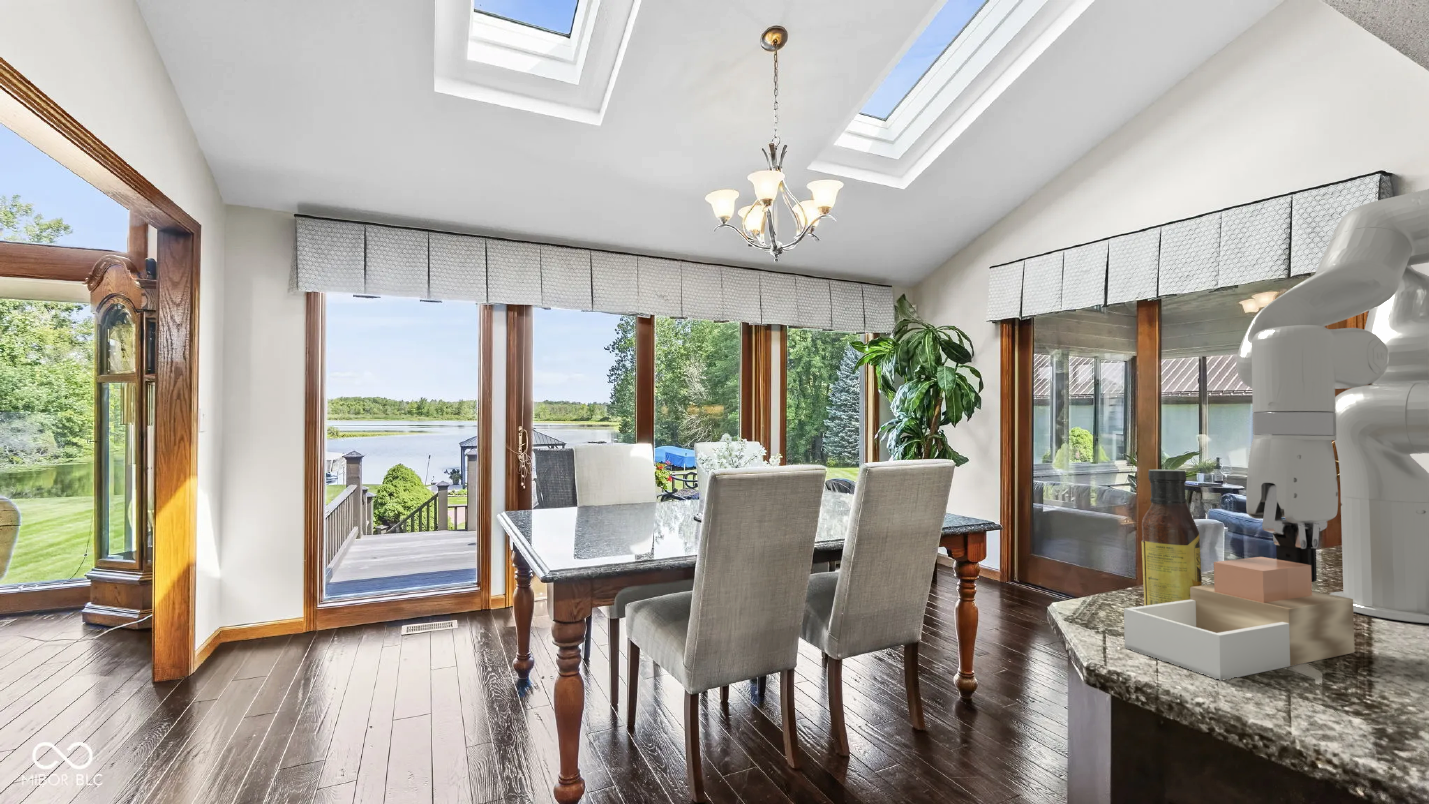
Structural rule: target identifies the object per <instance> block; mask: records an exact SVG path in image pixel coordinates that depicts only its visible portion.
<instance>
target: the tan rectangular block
mask: <svg viewBox="0 0 1429 804" xmlns="http://www.w3.org/2000/svg"><path fill="white" fill-rule="evenodd" d="M1190 599H1191V600H1195V601H1196V627H1197V628H1201V629H1204V630H1208V631H1211V632H1215V633H1220V632H1226V631H1232V630H1237V629H1243V628H1249V627H1255V626H1261V625H1267V624H1273V623H1279V622H1285V623H1289V639H1290V666H1289V667H1292V666H1298V665H1302V664H1306V663H1311V662H1317V661H1322V660H1325V659H1331V658H1334V657H1340V656H1344V655H1348V654H1354V653H1355V649H1356V648H1355V624H1354V623H1355V621H1354V612H1353V599H1350V598H1345V597H1340V596H1335V595H1330V593H1324V592H1320V591H1319V592H1318V591H1314V590H1312V596H1306V597H1299V598H1292V599H1286V600H1279V601H1273V602H1266V603H1262V602H1258V601H1253V600H1249V599H1244V598H1240V597H1235V596H1231V595H1227V594H1222V593H1218V592H1214V583H1211V584H1205V585H1204V584H1202V586H1194V587H1190Z"/></svg>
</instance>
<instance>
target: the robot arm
mask: <svg viewBox="0 0 1429 804" xmlns="http://www.w3.org/2000/svg"><path fill="white" fill-rule="evenodd" d="M1428 263H1429V188H1428V189H1423V190H1419V191H1414V192H1409V193H1405V194H1404V193H1403V194H1401V195H1395V196H1391V197H1388V198H1383V199H1379V200H1375V201H1374V200H1373V201H1370V202H1368V203H1364V204H1362V205H1359V206H1358V207H1355V208H1353V209H1351V210H1350V211H1349V212H1347V213H1346V214H1345V215H1344V216H1343V217H1342V218H1341V219H1340V220H1339V222H1338V223H1337V225H1336V227H1335V230H1334V232H1333V234H1332V236H1331V239H1330V240H1329V243H1328V245H1327V247H1326V249H1325V252H1324V253H1323V256H1322V258H1321V259H1320V262H1319V264H1318V267H1317V268H1316V270H1315V271H1316V272H1315V274H1314V275H1312V276H1310V277H1308V278H1306V279H1305V280H1303V281H1301V282H1299V283H1298V284H1295V285H1294V286H1293V287H1292V288H1289V289H1288V290H1286V292H1284V293H1282V294H1281V295H1279V296H1278V297H1276V298H1275V299H1273V300H1271V302H1269V303H1267V304H1266V305H1265V306H1264V307H1262V309H1260V310H1259V311H1258V313H1256V315H1255V316H1254V318H1253V319H1252V320H1251V322H1250V324H1249V325H1248V328H1247V330H1246V332H1245V334H1244V336H1243V338H1242V341H1241V342H1240V345H1239V349H1238V351H1237V354H1236V362H1235V363H1236V372H1237V375H1238V378H1239V379H1240V380H1241V382H1242V383H1243V384H1244V385H1246V386H1247V387H1249V388H1250V389H1252V390H1251V391H1252V393H1251V394H1252V434H1253V435H1252V442H1251V446H1250V449H1249V455H1248V464H1247V475H1246V476H1247V477H1246V491H1245V492H1246V494H1245V495H1246V498H1245V499H1246V501H1245V503H1246V505H1245V507H1246V514H1247V515H1248V516H1249V517H1250V518H1252V519H1257V520H1262V524H1261V528H1262V530H1263V531H1265V532H1268V533H1271V534H1272V541H1273V544H1274V545H1275V549H1276V550H1275V551H1276V553H1275V555H1276V558H1275V559H1278V560H1284V561H1290V562H1295V563H1301V564H1307V565H1311V578H1312V583H1314V582H1315V583H1316V581H1317V578H1318V576H1317V548H1318V546H1319V537H1320V532H1322V531H1323V530H1325V529H1327V527H1328V521H1331V520H1333V519H1334V518H1336V516H1337V514H1338V510H1339V509H1338V508H1339V489H1338V488H1339V486H1338V476H1337V475H1338V474H1337V468H1336V467H1337V466H1336V458H1335V452H1334V447H1333V443H1332V441H1334V444H1335V448H1336V452H1337V453H1336V454H1337V459H1338V467H1339V482H1340V515H1341V517H1340V519H1341V521H1340V522H1341V523H1340V524H1341V554H1342V555H1341V556H1342V559H1341V560H1342V583H1343V584H1342V585H1343V586H1342V588H1343V589H1342V590H1343V591H1334V592H1330V593H1329V594H1330V595H1335V596H1340V597H1345V598H1350V599H1353V613H1358V614H1362V615H1367V616H1370V617H1375V618H1376V617H1377V618H1381V619H1388V620H1393V621H1400V622H1401V621H1402V622H1410V623H1417V624H1418V623H1419V624H1427V625H1428V624H1429V472H1428V471H1427V470H1426V469H1425V468H1424V467H1423V466H1422V465H1421V464H1419V462H1417V461H1416V460H1415V459H1414V458H1413V456H1411V455H1412V454H1415V455H1416V454H1417V455H1418V454H1429V275H1428V274H1425V273H1422V272H1421V271H1419V270H1418V271H1417V270H1415V269H1414V267H1413V266H1416V265H1421V264H1428ZM1366 312H1368V313H1367V318H1366V322H1365V325H1364V326H1365V327H1364V329H1363V328H1358V327H1345V328H1344V327H1343V328H1335V329H1333V328H1332V329H1331V328H1330V329H1329V328H1327V326H1329V325H1333V324H1336V323H1338V322H1342V321H1345V320H1348V319H1351V318H1353V317H1356V316H1359V315H1361V314H1364V313H1366ZM1336 389H1339V390H1341V389H1345V390H1344V391H1342V392H1340V393H1338V394H1337V395H1336Z"/></svg>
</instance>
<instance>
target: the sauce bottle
mask: <svg viewBox="0 0 1429 804" xmlns="http://www.w3.org/2000/svg"><path fill="white" fill-rule="evenodd" d="M1186 472H1187V471H1185V470H1184V469H1161V468H1160V469H1148V480H1149V482H1150V499H1149V500H1150V503H1151V504H1150V506H1149V508H1148V509H1147V511H1146V512H1145V514H1144V515H1143V517H1142V520H1141V533H1142V534H1141V537H1142V540H1141V558H1142V560H1141V561H1142V580H1143V581H1142V583H1143V603H1144V605H1143V606H1146V605H1154V604H1161V603H1168V602H1175V601H1183V600H1190V587H1194V586H1202V585H1203V584H1202V582H1203V578H1202V577H1203V576H1202V575H1203V574H1202V558H1201V544H1200V543H1201V540H1200V538H1201V537H1200V532H1199V529H1198V527H1197V524H1196V522H1195V520H1194V517H1193V515H1192V513H1191V510H1190V507H1189V506H1188V503H1187V499H1186V486H1185V485H1186V484H1185V483H1186V482H1187V475H1186Z"/></svg>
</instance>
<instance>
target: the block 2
mask: <svg viewBox="0 0 1429 804" xmlns="http://www.w3.org/2000/svg"><path fill="white" fill-rule="evenodd" d="M1238 559H1239V560H1245V561H1251V562H1256V563H1262V564H1268V565H1273V566H1279V567H1285V568H1288V599H1292V598H1299V597H1306V596H1312V591H1313V585H1312V583H1313V582H1312V578H1311V565H1307V564H1301V563H1295V562H1290V561H1284V560H1278V559H1276V558H1272V557H1264V556H1255V557H1246V558H1238Z"/></svg>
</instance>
